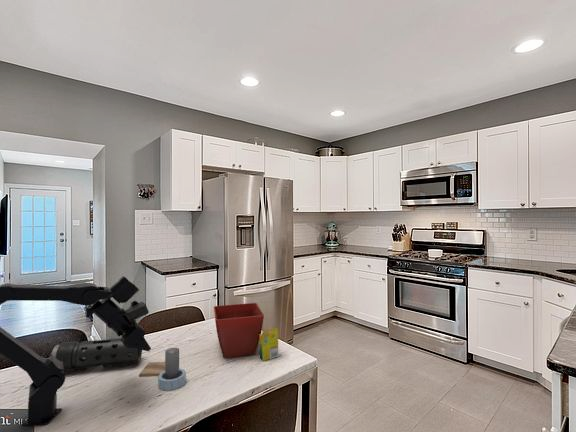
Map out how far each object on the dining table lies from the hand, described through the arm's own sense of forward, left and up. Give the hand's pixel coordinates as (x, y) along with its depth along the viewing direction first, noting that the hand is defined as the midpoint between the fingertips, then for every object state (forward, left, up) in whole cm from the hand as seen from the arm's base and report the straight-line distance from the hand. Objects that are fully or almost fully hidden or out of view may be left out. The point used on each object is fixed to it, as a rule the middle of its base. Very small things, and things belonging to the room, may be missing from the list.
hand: (146, 345), depth 101 cm
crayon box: (+17, -41, -14) cm, 46 cm away
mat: (+11, 0, -13) cm, 17 cm away
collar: (+1, -8, -13) cm, 16 cm away
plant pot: (+25, -28, -14) cm, 40 cm away
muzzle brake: (+14, +22, -14) cm, 30 cm away
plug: (+1, -8, -13) cm, 16 cm away
